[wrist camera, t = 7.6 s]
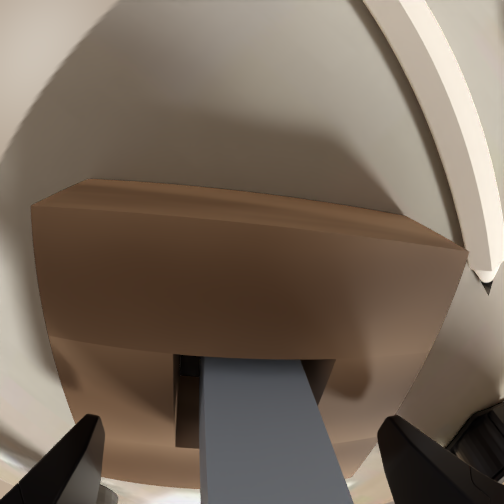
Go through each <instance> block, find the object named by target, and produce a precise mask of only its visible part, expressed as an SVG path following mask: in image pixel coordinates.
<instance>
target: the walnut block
mask: <svg viewBox="0 0 504 504" xmlns="http://www.w3.org/2000/svg"><path fill="white" fill-rule="evenodd" d="M31 221H32V235H33V247H34V256H35V264H36V272H37V279H38V286H39V292H40V298H41V303H42V309H43V314H44V319H45V323H46V328H47V332H48V337H49V341H50V345H51V349H52V353H53V357H54V360H55V364H56V367H57V371H58V374H59V378H60V381H61V384H62V387H63V390H64V393H65V396H66V399H67V402H68V405H69V408H70V411H71V413H72V416H73V419H74V421H75V424H77V423H78V422H79V421H80V420H81V419H82V418H83V417H84V416H85V415H86V414H93V415H98V416H100V418H101V420H102V424H103V427H104V430H105V443H104V452H103V462H102V472H101V477H105V478H110V479H116V480H121V481H127V482H133V483H140V484H148V485H156V486H165V487H176V488H191V489H200V457H199V377H192V376H180V355H192V356H205V357H222V358H243V359H300V361H301V364H302V366H303V369H304V371H305V374H306V377H307V379H308V382H309V385H310V387H311V390H312V393H313V395H314V398H315V401H316V403H317V406H318V409H319V411H320V414H321V417H322V419H323V422H324V425H325V428H326V430H327V433H328V436H329V438H330V441H331V444H332V446H333V449H334V452H335V454H336V457H337V460H338V463H339V465H340V468H341V471H342V473H343V476H344V479H345V478H350V477H352V476H353V475H354V473H355V472H356V471H357V469H358V468H359V467H360V465H361V464H362V463H363V461H364V460H365V459H366V457H367V456H368V455H369V453H370V452H371V450H372V449H373V447H374V446H375V445H376V443H377V442H378V439H377V432H378V430H379V428H380V426H381V425H382V423H383V422H384V420H385V419H386V418H387V417H388V416H394V415H395V414H396V412H397V411H398V409H399V407H400V406H401V404H402V402H403V401H404V399H405V397H406V396H407V394H408V392H409V390H410V388H411V387H412V385H413V383H414V381H415V379H416V378H417V376H418V374H419V372H420V370H421V368H422V366H423V364H424V362H425V360H426V358H427V356H428V354H429V352H430V350H431V348H432V346H433V344H434V342H435V340H436V337H437V335H438V333H439V331H440V329H441V326H442V324H443V322H444V319H445V317H446V315H447V312H448V310H449V307H450V305H451V302H452V300H453V297H454V295H455V292H456V289H457V287H458V284H459V281H460V279H461V276H462V273H463V270H464V267H465V264H466V261H467V258H468V255H469V251H467V250H466V249H464V248H462V247H461V246H459V245H457V244H456V243H454V242H452V241H450V240H449V239H447V238H445V237H443V236H442V235H440V234H438V233H436V232H434V231H433V230H431V229H429V228H427V227H425V226H423V225H421V224H420V223H418V222H416V221H414V220H412V219H410V218H408V217H406V216H404V215H398V214H393V213H387V212H382V211H376V210H370V209H365V208H359V207H353V206H347V205H340V204H334V203H327V202H321V201H314V200H307V199H300V198H293V197H286V196H278V195H270V194H262V193H254V192H245V191H237V190H228V189H218V188H208V187H198V186H187V185H176V184H164V183H151V182H137V181H121V180H103V179H87V180H84V181H82V182H80V183H77V184H75V185H73V186H71V187H69V188H66V189H64V190H62V191H60V192H58V193H56V194H53V195H51V196H49V197H47V198H45V199H43V200H41V201H39V202H37V203H35V204H33V205H31Z"/></svg>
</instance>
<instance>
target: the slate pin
mask: <svg viewBox="0 0 504 504" xmlns="http://www.w3.org/2000/svg"><path fill="white" fill-rule="evenodd" d="M199 457H200V493H201V504H354V503H353V501H352V498H351V495H350V492H349V490H348V487H347V484H346V482H345V479H344V476H343V473H342V471H341V468H340V465H339V463H338V460H337V457H336V454H335V452H334V449H333V446H332V444H331V441H330V438H329V436H328V433H327V430H326V428H325V425H324V422H323V419H322V417H321V414H320V411H319V409H318V406H317V403H316V401H315V398H314V395H313V393H312V390H311V387H310V385H309V382H308V379H307V377H306V374H305V371H304V369H303V366H302V364H301V361H300V359H243V358H222V357H205V356H200V366H199Z"/></svg>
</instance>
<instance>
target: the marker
mask: <svg viewBox="0 0 504 504" xmlns="http://www.w3.org/2000/svg"><path fill="white" fill-rule="evenodd" d="M362 1H363V2H364V4H365V5H366V7H367V8H368V10H369V12H370V13H371V15H372V16H373V18H374V19H375V21H376V23H377V24H378V26H379V28H380V29H381V31H382V33H383V34H384V36H385V38H386V39H387V41H388V43H389V45H390V46H391V48H392V50H393V52H394V54H395V55H396V57H397V59H398V61H399V63H400V65H401V67H402V69H403V71H404V73H405V75H406V77H407V79H408V81H409V83H410V85H411V87H412V89H413V91H414V94H415V96H416V98H417V100H418V102H419V105H420V107H421V109H422V112H423V114H424V116H425V119H426V121H427V124H428V126H429V129H430V131H431V134H432V137H433V139H434V142H435V145H436V147H437V150H438V153H439V156H440V159H441V162H442V165H443V168H444V171H445V174H446V177H447V180H448V184H449V187H450V190H451V194H452V197H453V201H454V205H455V208H456V212H457V216H458V220H459V224H460V229H461V233H462V238H463V242H464V247H465V249H466V250H467V251H469V255H468V258H467V261H468V264H469V267H470V269H472V270H474V271H475V273H476V274H477V275H478V277H479V278H480V281H481V283H482V285H483V286H484V288H485V290H486V292H487V294H488V296H489V292H490V289H491V286H492V282H493V279H494V277H495V275H496V273H497V271H498V269H499V266H500V264H501V263H502V262H503V261H504V222H503V216H502V209H501V203H500V198H499V193H498V187H497V183H496V178H495V173H494V169H493V165H492V161H491V157H490V153H489V149H488V146H487V142H486V139H485V135H484V132H483V129H482V125H481V122H480V119H479V116H478V113H477V110H476V107H475V105H474V102H473V99H472V96H471V94H470V91H469V89H468V86H467V84H466V81H465V79H464V76H463V74H462V72H461V69H460V67H459V65H458V62H457V60H456V58H455V56H454V54H453V52H452V50H451V47H450V45H449V43H448V41H447V39H446V37H445V35H444V34H443V32H442V30H441V28H440V26H439V24H438V22H437V20H436V19H435V17H434V15H433V13H432V12H431V10H430V8H429V7H428V5H427V3H426V2H425V0H362Z"/></svg>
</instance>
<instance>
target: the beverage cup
mask: <svg viewBox="0 0 504 504" xmlns="http://www.w3.org/2000/svg"><path fill="white" fill-rule="evenodd" d="M117 503H118V497H117V495H116V494H115V493H114V492H113V491H111V490H109V489H108V488H106V487H104V486H102V485H100V486H99V491H98V495H97V500H96V504H117Z"/></svg>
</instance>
